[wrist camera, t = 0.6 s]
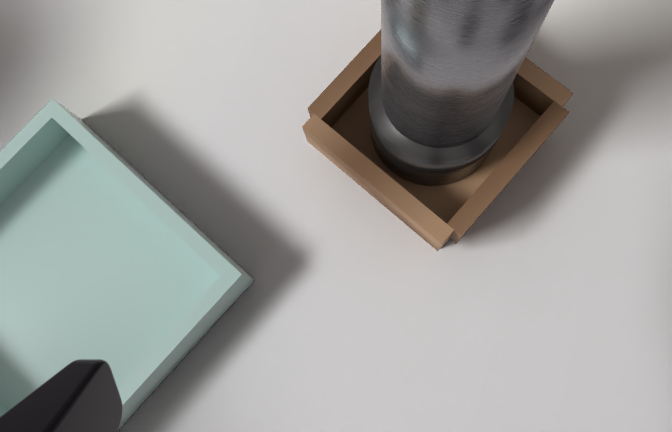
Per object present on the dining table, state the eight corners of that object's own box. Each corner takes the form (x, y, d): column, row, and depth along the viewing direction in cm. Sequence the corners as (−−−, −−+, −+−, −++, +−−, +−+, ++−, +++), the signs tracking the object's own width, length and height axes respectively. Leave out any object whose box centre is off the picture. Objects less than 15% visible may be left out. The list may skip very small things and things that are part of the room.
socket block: (558, 125, 22) (580, 98, 19) (441, 260, 21) (449, 250, 19) (419, 20, 23) (424, -17, 21) (305, 145, 22) (295, 121, 20)
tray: (254, 280, 21) (241, 274, 20) (66, 487, 21) (33, 502, 19) (80, 118, 23) (52, 98, 21) (-100, 302, 22) (-146, 298, 20)
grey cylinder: (521, 119, 21) (699, -162, 9) (440, 211, 20) (518, 41, 9) (424, 45, 22) (475, -298, 10) (344, 132, 21) (299, -120, 10)
